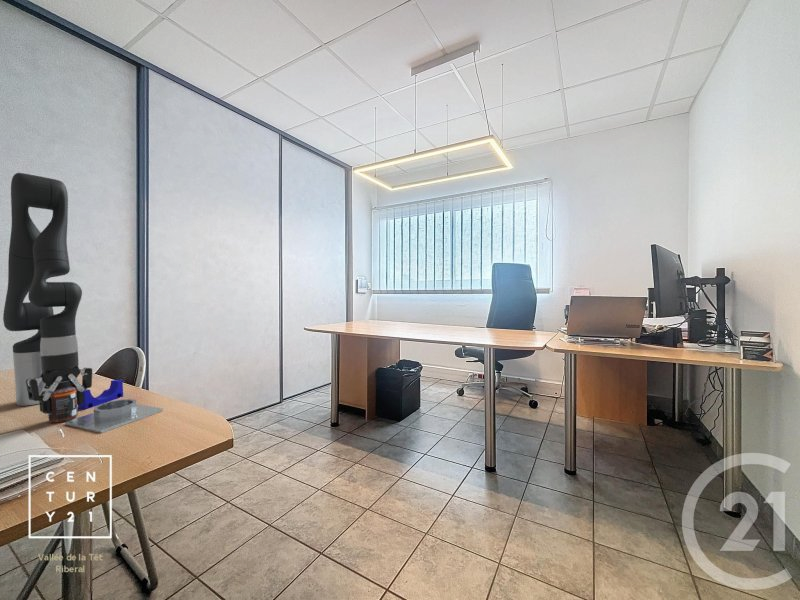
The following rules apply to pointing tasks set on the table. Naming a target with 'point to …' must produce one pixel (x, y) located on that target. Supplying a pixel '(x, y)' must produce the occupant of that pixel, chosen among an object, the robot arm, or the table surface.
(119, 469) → the table surface
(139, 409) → the duct panel
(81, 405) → the blue notched bracket
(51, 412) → the supplement bottle
